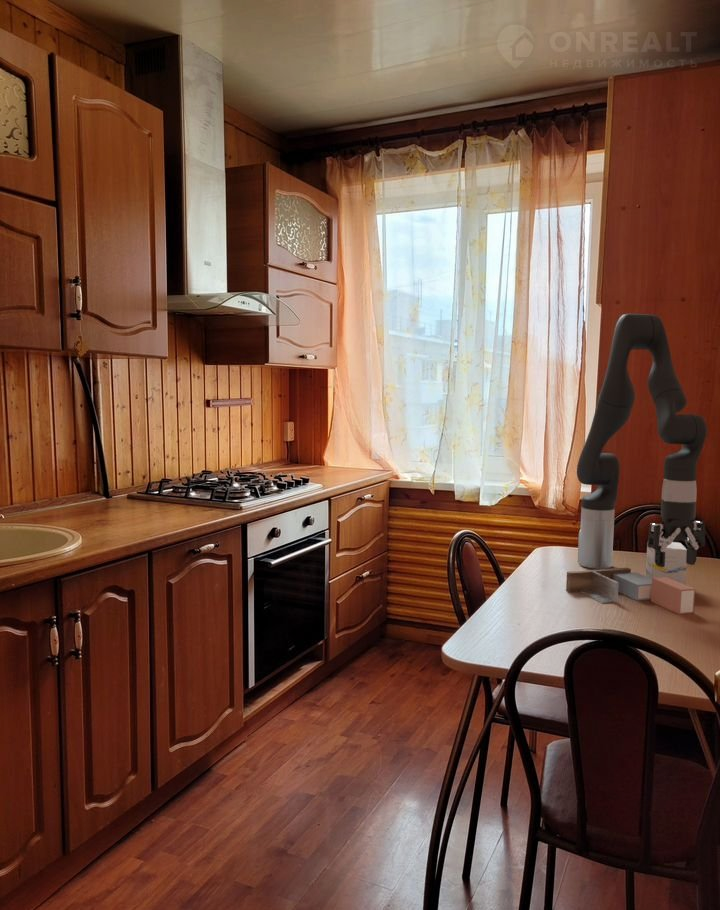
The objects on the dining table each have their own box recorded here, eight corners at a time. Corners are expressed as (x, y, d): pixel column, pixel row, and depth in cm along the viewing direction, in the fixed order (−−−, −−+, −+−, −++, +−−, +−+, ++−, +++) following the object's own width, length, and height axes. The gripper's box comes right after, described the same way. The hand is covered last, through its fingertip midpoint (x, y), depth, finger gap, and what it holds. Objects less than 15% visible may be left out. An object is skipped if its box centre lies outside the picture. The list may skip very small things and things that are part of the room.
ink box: (686, 593, 180) (688, 549, 178) (651, 591, 181) (653, 547, 180) (677, 584, 188) (680, 541, 187) (644, 582, 190) (646, 539, 188)
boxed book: (650, 601, 173) (652, 577, 173) (664, 600, 174) (665, 576, 174) (679, 614, 164) (680, 589, 163) (693, 613, 165) (695, 588, 164)
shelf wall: (566, 590, 181) (566, 571, 181) (626, 585, 186) (627, 567, 185) (569, 592, 180) (570, 573, 179) (629, 587, 184) (630, 569, 184)
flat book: (612, 588, 183) (613, 574, 183) (635, 587, 185) (636, 572, 184) (637, 600, 173) (637, 584, 173) (661, 598, 175) (662, 583, 175)
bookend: (579, 591, 181) (580, 572, 180) (594, 590, 182) (594, 571, 181) (602, 603, 171) (603, 583, 170) (617, 602, 172) (618, 582, 171)
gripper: (692, 495, 171) (689, 559, 173) (642, 497, 168) (639, 563, 169) (715, 499, 164) (711, 567, 166) (663, 502, 160) (660, 571, 162)
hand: (675, 565), depth 167 cm, fingers open, 8 cm apart
